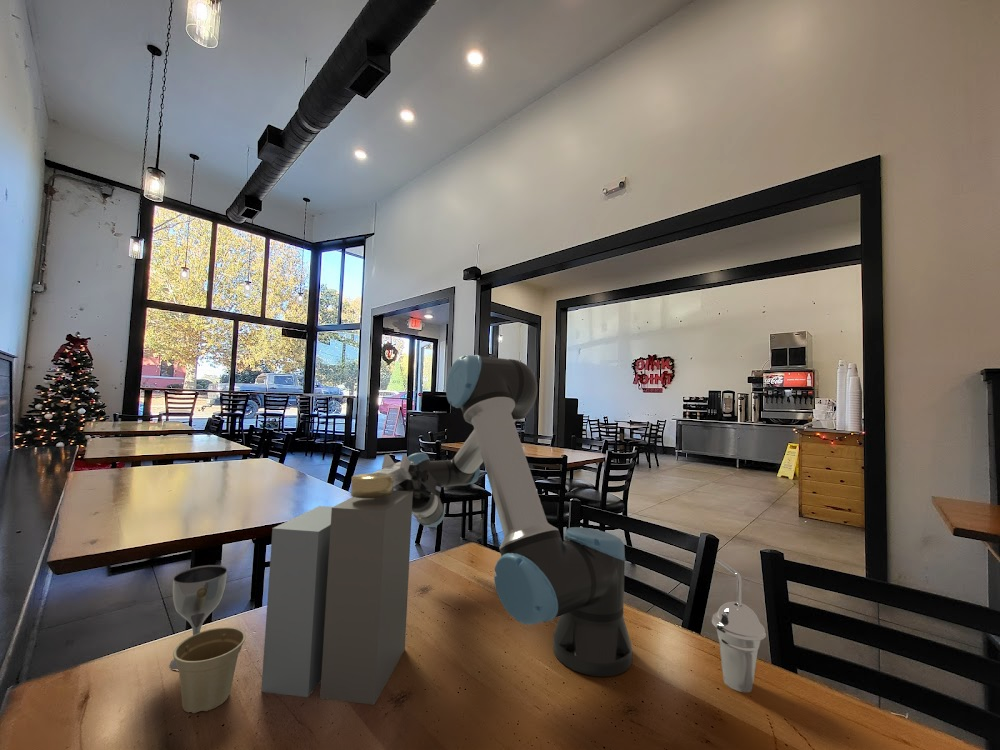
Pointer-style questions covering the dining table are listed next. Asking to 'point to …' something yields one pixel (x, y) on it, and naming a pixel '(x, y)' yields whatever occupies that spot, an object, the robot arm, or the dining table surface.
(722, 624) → the cup with straw
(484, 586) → the dining table surface
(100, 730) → the dining table surface
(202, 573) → the wine glass
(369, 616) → the tall stand
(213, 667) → the flower pot
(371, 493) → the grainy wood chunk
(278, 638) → the short stand
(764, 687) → the dining table surface
